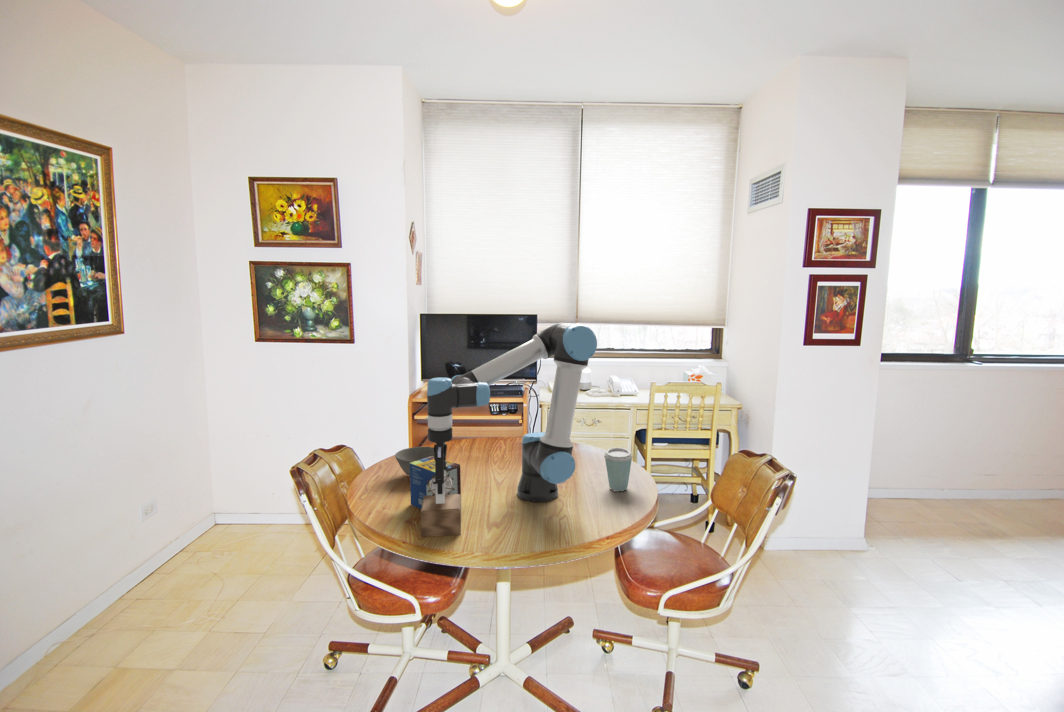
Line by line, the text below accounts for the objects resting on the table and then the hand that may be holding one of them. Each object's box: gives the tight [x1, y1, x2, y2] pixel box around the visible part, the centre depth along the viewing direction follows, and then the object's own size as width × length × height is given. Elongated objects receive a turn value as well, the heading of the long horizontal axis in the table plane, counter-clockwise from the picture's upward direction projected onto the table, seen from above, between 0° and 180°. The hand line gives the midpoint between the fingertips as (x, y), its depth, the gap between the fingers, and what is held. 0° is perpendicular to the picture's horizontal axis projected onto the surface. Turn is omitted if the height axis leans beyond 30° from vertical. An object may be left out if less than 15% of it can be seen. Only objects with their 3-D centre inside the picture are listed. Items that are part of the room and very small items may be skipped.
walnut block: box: [420, 493, 462, 538], centre depth 158 cm, size 12×12×8 cm
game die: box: [427, 474, 455, 496], centre depth 157 cm, size 9×8×10 cm
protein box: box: [409, 456, 462, 510], centre depth 173 cm, size 10×15×16 cm
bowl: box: [394, 446, 434, 478], centre depth 201 cm, size 19×19×10 cm
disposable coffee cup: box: [603, 447, 633, 492], centre depth 189 cm, size 11×11×15 cm
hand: (441, 496), depth 157 cm, fingers closed on game die, 9 cm apart
